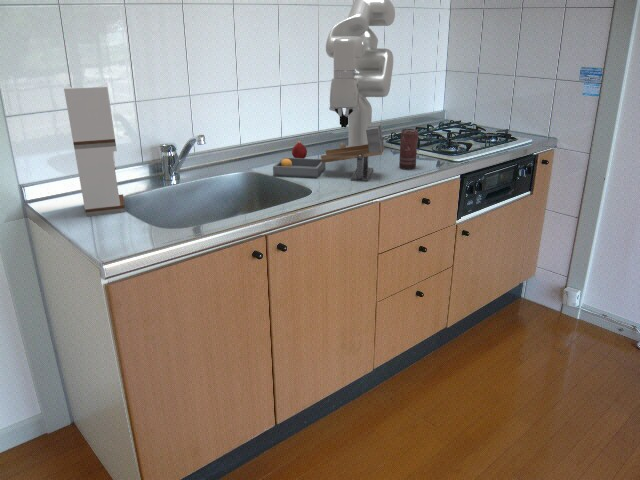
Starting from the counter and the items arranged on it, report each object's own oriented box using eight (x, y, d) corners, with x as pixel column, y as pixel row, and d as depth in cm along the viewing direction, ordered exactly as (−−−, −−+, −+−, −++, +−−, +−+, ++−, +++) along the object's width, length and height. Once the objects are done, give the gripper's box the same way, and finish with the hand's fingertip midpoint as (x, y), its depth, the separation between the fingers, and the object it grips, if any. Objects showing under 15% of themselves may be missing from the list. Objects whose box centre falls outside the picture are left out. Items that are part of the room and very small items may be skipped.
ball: (295, 163, 200) (288, 170, 202) (287, 155, 200) (280, 162, 201) (292, 165, 196) (285, 173, 198) (284, 157, 196) (277, 164, 198)
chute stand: (357, 169, 202) (357, 146, 198) (373, 170, 201) (374, 146, 197) (350, 180, 188) (351, 155, 185) (368, 181, 187) (368, 156, 184)
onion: (309, 160, 216) (309, 140, 213) (303, 163, 211) (302, 143, 208) (296, 159, 218) (295, 139, 215) (289, 162, 213) (289, 141, 210)
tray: (284, 166, 207) (283, 157, 206) (325, 168, 204) (325, 159, 202) (273, 176, 194) (272, 166, 193) (317, 178, 191) (317, 168, 190)
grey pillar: (125, 211, 159) (107, 87, 146) (86, 216, 155) (63, 88, 142) (124, 200, 169) (106, 82, 156) (86, 204, 165) (66, 84, 152)
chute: (331, 152, 207) (327, 128, 204) (386, 144, 201) (383, 119, 198) (322, 162, 191) (317, 137, 188) (381, 154, 186) (377, 128, 183)
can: (416, 170, 201) (418, 131, 195) (398, 169, 202) (400, 131, 197) (416, 166, 206) (419, 128, 201) (399, 165, 207) (401, 128, 202)
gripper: (366, 74, 196) (365, 125, 204) (325, 73, 199) (326, 124, 207) (363, 76, 190) (362, 129, 197) (321, 76, 193) (322, 128, 200)
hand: (344, 126), depth 202 cm, fingers closed
